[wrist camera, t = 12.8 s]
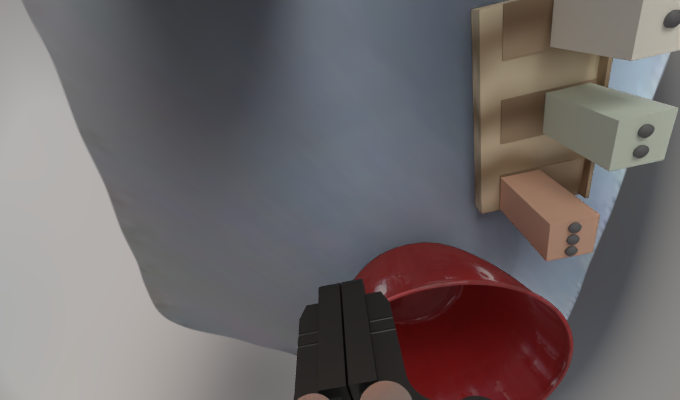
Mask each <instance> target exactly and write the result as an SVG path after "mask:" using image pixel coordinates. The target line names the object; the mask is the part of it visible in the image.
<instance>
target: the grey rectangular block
mask: <svg viewBox="0 0 680 400" xmlns="http://www.w3.org/2000/svg"><path fill="white" fill-rule="evenodd" d="M550 47H555V48H560V49H566V50H572V51H577V52H583V53H589V54H594V55H600V56H606V57H611V58H617V59H623V60H628V61H633V60H638V59H642V58H646V57H651V56H655V55H659V54H664V53H668V52H672V51H677V50H680V0H554V6H553V17H552V29H551V41H550Z"/></svg>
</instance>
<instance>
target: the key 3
mask: <svg viewBox="0 0 680 400" xmlns="http://www.w3.org/2000/svg"><path fill="white" fill-rule="evenodd" d="M500 210H501V211H502V212H503V213H504V214H505V215H506V216H507V217H508V219H509V220H510V221H511V222H512V223H513V224H514V225H515V227H516V228H517V229H518V230H519V231H520V232H521V233H522V234H523V236H524V237H525V238H526V239H527V240H528V241H529V242H530V244H531V245H532V246H533V247H534V248H535V249H536V250H537V251H538V253H539V254H540V255H541V256H542V257H543V258H544V259H545V260H546V261H551V260H556V259H561V258H566V257H571V256H576V255H581V254H586V253H591V252H593V248H594V243H595V238H596V233H597V228H598V223H599V218H600V214H598V213H597V212H596V211H594V210H593V209H592V208H590V207H589V206H588V205H586V204H585V203H584V202H582V201H581V200H580V199H578V198H577V197H576V196H574V195H573V194H572V193H570V192H569V191H568V190H566V189H565V188H564V187H562V186H561V185H560V184H558V183H557V182H556V181H554V180H553V179H552V178H550V177H549V176H548V175H546V174H545V173H544V172H542V171H541V170H540V169H539V170H534V171H529V172H525V173H520V174H515V175H511V176H506V177H501V191H500Z"/></svg>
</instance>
